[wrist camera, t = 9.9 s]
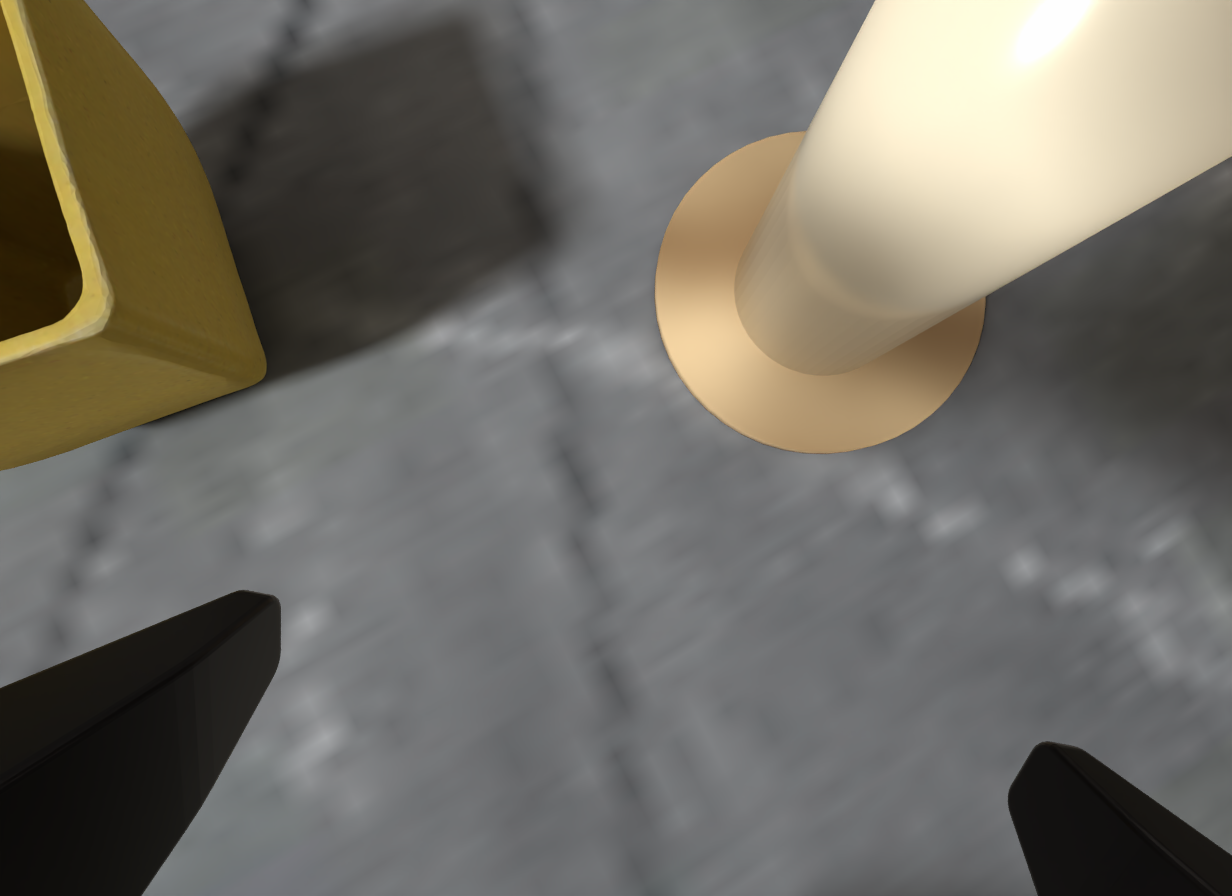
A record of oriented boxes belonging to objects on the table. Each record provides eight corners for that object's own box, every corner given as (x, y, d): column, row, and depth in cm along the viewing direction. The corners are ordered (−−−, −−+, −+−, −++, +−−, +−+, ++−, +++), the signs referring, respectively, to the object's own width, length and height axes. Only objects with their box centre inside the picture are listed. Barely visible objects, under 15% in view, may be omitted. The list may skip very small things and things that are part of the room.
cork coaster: (967, 469, 19) (979, 467, 19) (640, 437, 19) (641, 435, 19) (980, 157, 20) (991, 147, 20) (668, 127, 20) (670, 116, 19)
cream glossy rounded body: (929, 346, 19) (1634, -11, 6) (765, 397, 19) (1126, 138, 6) (872, 188, 19) (1407, -463, 6) (711, 235, 19) (930, -341, 6)
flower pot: (-11, 243, 20) (-535, 19, 11) (260, 151, 20) (-25, -140, 11) (67, 510, 19) (-426, 513, 10) (347, 410, 19) (118, 323, 10)
